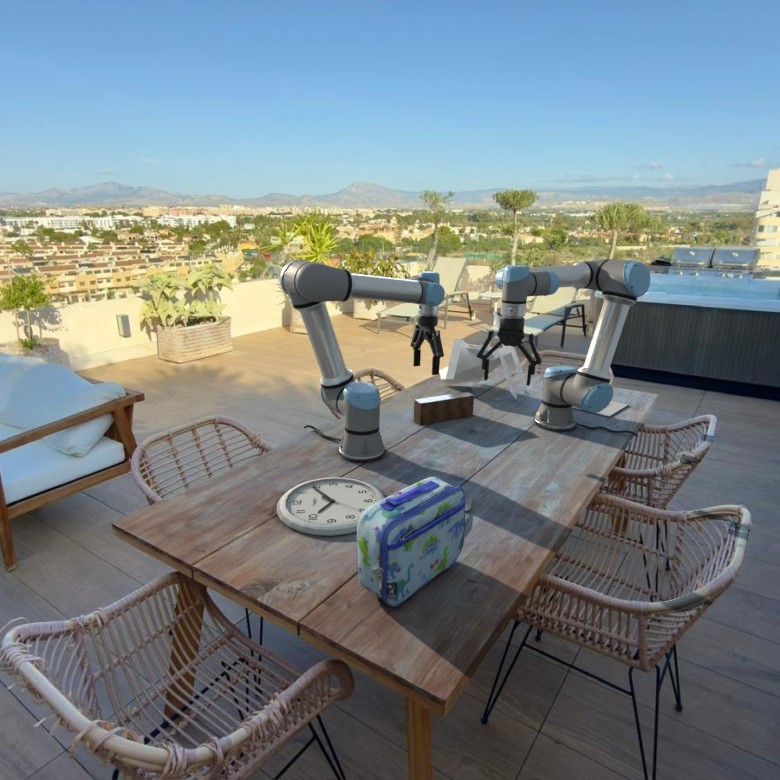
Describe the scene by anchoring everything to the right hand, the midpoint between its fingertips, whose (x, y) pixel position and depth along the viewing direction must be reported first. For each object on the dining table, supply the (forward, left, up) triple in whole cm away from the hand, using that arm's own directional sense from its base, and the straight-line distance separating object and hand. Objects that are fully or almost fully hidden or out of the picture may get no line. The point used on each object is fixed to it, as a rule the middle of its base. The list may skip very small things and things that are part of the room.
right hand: (506, 382), depth 169 cm
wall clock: (+49, +41, -26) cm, 69 cm away
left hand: (+27, -27, -5) cm, 39 cm away
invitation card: (-48, -58, -26) cm, 79 cm away
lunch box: (+24, +69, -26) cm, 78 cm away
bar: (+20, -32, -26) cm, 46 cm away
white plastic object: (+4, -70, -26) cm, 74 cm away
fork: (+13, +42, -26) cm, 51 cm away
